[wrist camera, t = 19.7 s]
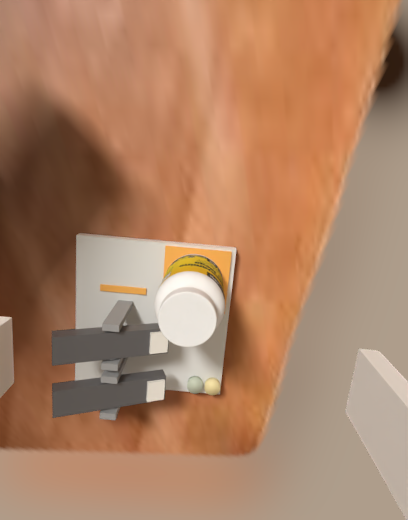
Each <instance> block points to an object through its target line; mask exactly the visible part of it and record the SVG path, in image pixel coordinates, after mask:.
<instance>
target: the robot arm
mask: <svg viewBox="0 0 408 520" xmlns="http://www.w3.org/2000/svg"><path fill="white" fill-rule="evenodd" d="M13 383H14V360H13V332H12V317H3V316H0V398H1V397H2V395H3V394H4V393H5V392H6V391H7V390H8V389H9V388H10V387H11V386H12V384H13ZM345 412H346V414H347V416H348V418H349V419H350V421H351V423H352V425H353V427H354V428H355V430H356V432H357V433H358V435H359V437H360V439H361V440H362V443H363V444H364V446H365V448H366V450H367V451H368V453H369V455H370V457H371V458H372V460H373V462H374V464H375V465H376V467H377V469H378V471H379V473H380V474H381V476H382V478H383V480H384V482H385V483H386V485H387V487H388V488H389V490H390V492H391V494H392V496H393V497H394V499H395V501H396V503H397V505H398V506H399V508H400V510H401V512H402V513H403V515H404V517H405V519H406V520H408V382H407V380H406V379H405V378H404V377H403V376H402V375H401V374H400V373H399V372H398V371H397V370H396V369H395V368H394V366H393V365H391V363H390V362H389V361H388V360H387V359H386V358H385V357H384V356H383V355H382V354H381V353H380V352H379V351H377V350H366V349H359V350H358V354H357V359H356V364H355V369H354V373H353V378H352V383H351V387H350V392H349V396H348V401H347V406H346V410H345Z"/></svg>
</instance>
